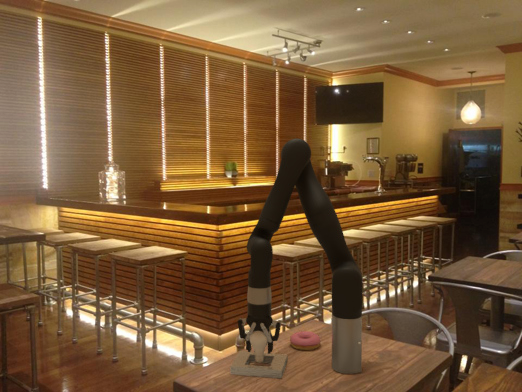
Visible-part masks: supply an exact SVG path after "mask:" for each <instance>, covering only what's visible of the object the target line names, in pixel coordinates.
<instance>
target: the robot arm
mask: <svg viewBox="0 0 522 392" xmlns="http://www.w3.org/2000/svg"><path fill="white" fill-rule="evenodd" d="M311 157H312V149H311V146H310V144H308V142H307V141H305V140H304V139H302V138H292V139H290V140H288V141H286V142H285V144H284V145H283V146H282V148H281V151H280V164H279V168H278V170H277V171H278V172H277V175H276V178H275V180H274V183H273V185H272V187H271V190H269V194H268V196H267V198H266V200H265V202H264V203H263V204H264V205H263V207H262V210H261V212H260V215H259V218H258V221H257V223H256V224H255V226H254V228H253V229H252V232H251V233H250V235H249V237H248V240H247V244H246V250H247V253H248V254H249V255H250V268H249V269H248V273H247V274H248V276H247V280H248V282H247V284H248V286H247V296H246V299H247V300H246V301H247V315H246V316H247V317H245V318H243V317H239V319H238V320H237V326H238V327H237V328H238V334H239V337H240V339H243V340H245V349H246V351H247V352H252V345H251V343H250V335H251V334H252V332H253V331H262V332H263V333H264V334H265V336H266V337H267V339H268V343H267V353H268V354H270V353H272V352H273V351H274V342H277V341H278V340H279V338H280V334H281V333H280V332H281V326H282V321H281V320H280V319H278V320H274V319H273V317H272V289H271V288H272V287H271V286H272V285H271V284H272V283H271V282H272V281H271V279H272V278H271V275H272V274H271V271H272V263H273V258H274V257H273V254H274V253H273V252H274V251H273V250H274V249H273V245H272V243H271V240H272V238H273V236H274V234H275V233H277V232H278V231H279V229H280V228H281V224H282V222H283V219H284V217H285V215H286V211H287V209H288V206H289V202H290V201H291V200H290V199H291V197H292V195H293V191H294V188H296V191H297V194H298V199H299V201H300V204H301V207H302V210H303V213H304V215H305V219H306V221H307V222H308V226H309V227H310V230H311V232H312V233H313V235H314V237H315V239H316V240H317V242H318V243H319V245H320V246H321V248H322V249H323V251H324V253H325V255H326V257H327V261H328V264H329V266H330V270H331V274H332V278H331V368H332V369H333V371H335V372H337V373H339V374H344V375H354V374H357V373H359V374H360V373H362V366H363V365H362V361H363V359H362V358H363V356H362V355H363V353H362V351H363V349H362V348H363V346H362V344H363V342H362V336H363V332H362V330H363V327H362V326H363V325H362V322H363V289H364V287H363V283H364V282H363V274H362V271H361V269H360V267H359V265H358V264H357V262H356V260H355V259H354V257H353V255H352V253H351V251H350V249H349V246H348V244H347V241H346V238H345V234H344V232H343V229H342V226H341V222H340V220H339V217H338V215H337V212H336V210H335V208H334V205H333V203H332V201H331V199H330V197H329V196H328V194H327V192H326V190H325V189H324V187H323V186H322V185H321V183H320V181H319V179H318V178H317V176H316V173H315V170H314V167H313V164H312V161H311ZM246 324H247V325H248V327H249V329H248V331H247V333H246V329H245V325H246ZM272 325H273V328H274V329H275V330H274V335H273V334H272V331H271V326H272Z"/></svg>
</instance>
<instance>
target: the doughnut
mask: <svg viewBox="0 0 522 392" xmlns="http://www.w3.org/2000/svg"><path fill="white" fill-rule="evenodd" d="M321 341H322V340H321V338H320V336H319V335H318V334H317V333H315V332H313V331H309V330H308V331H307V330H305V331H304V330H302V331H296V332H294V333H292V334H291V335H290V338H289V343H290V345H291V347H292V348H294V349H296V350H301V351H312V350H317V349H318V348H319V346H320V345H321Z"/></svg>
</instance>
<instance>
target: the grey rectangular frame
mask: <svg viewBox="0 0 522 392" xmlns="http://www.w3.org/2000/svg"><path fill="white" fill-rule="evenodd" d="M250 363H257V362H256V361H255V354H254V351H251V352H248V351H244V350H239V352H238V353H237V354H236V356H235V358H234V360H233V361H232V363H231V365H230V369H229V370H230V375H236V376H244V377H245V376H248V377H256V378H257V377H258V378H269V379H270V378H271V379H273V378H274V379H281V380H282V379H283V376H284V374H285V370H286V368H287V365H288V354H285V353H283V354H282V353H272V352H271V353H270V354H268V352H264V355H263V361H262V362H261V363H262V364H270V365H269V366H265V365H254V364H253V365H251V364H250ZM261 363H260V364H261Z"/></svg>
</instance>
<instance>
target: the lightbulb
mask: <svg viewBox="0 0 522 392" xmlns="http://www.w3.org/2000/svg"><path fill="white" fill-rule="evenodd" d="M250 343H251V348H252V349H253V352H254V354H255V361H256V362H255V363H258V364H261V362H262V361H263V355H264V353H265V349H266V347H267V346H268V339H267V337H266V336H265V334H264V333H263V332H262V331H253V332H252V334H251V335H250Z"/></svg>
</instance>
